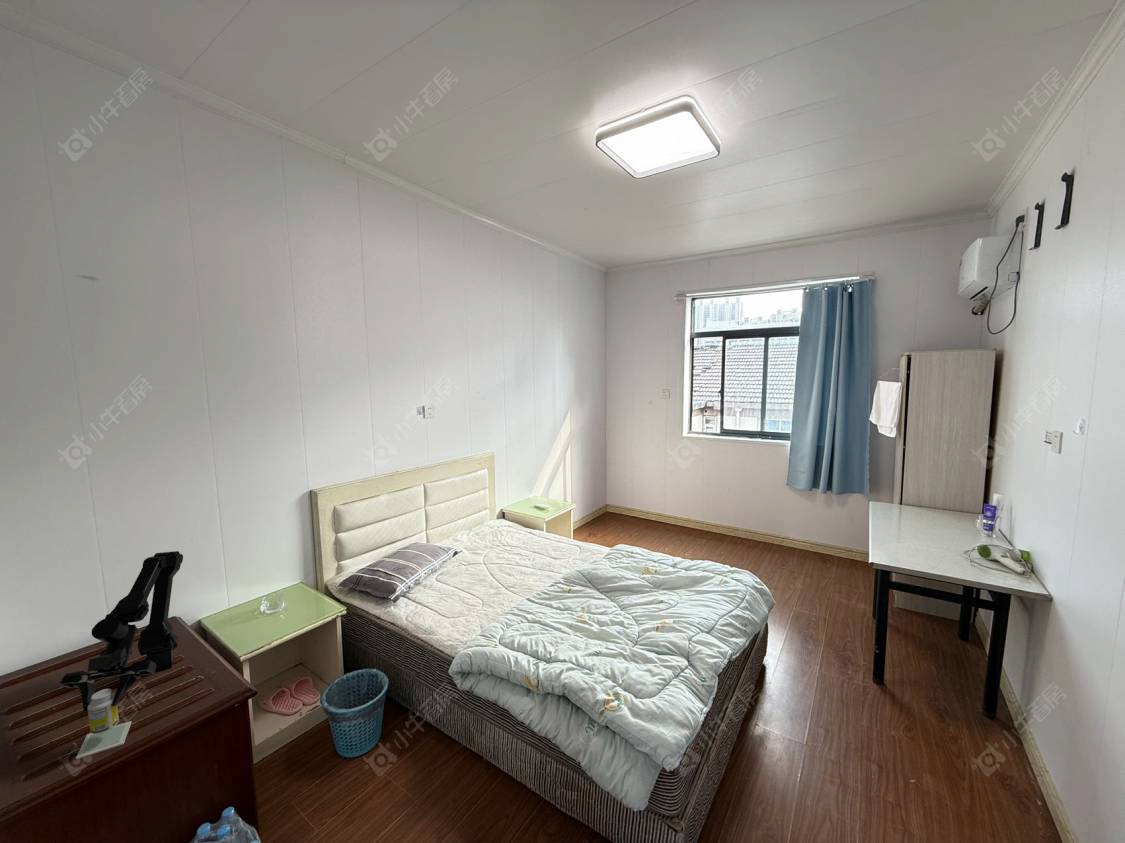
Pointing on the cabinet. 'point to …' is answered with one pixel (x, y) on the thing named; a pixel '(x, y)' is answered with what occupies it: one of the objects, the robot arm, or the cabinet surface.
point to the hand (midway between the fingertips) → (99, 708)
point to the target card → (104, 740)
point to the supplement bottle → (102, 712)
